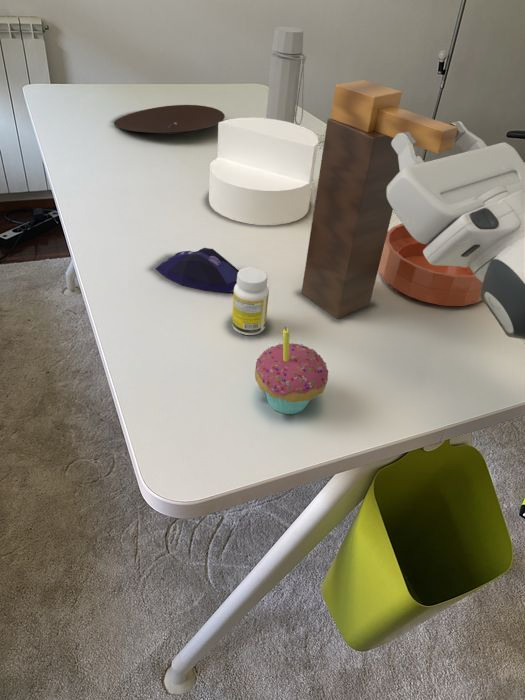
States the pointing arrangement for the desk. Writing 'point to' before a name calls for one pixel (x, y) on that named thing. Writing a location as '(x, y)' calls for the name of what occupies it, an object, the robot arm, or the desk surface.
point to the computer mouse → (200, 270)
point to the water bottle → (285, 74)
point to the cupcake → (290, 375)
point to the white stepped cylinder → (262, 171)
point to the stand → (349, 218)
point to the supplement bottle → (250, 301)
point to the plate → (171, 119)
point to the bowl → (425, 273)
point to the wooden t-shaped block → (388, 115)
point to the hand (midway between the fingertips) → (425, 130)
